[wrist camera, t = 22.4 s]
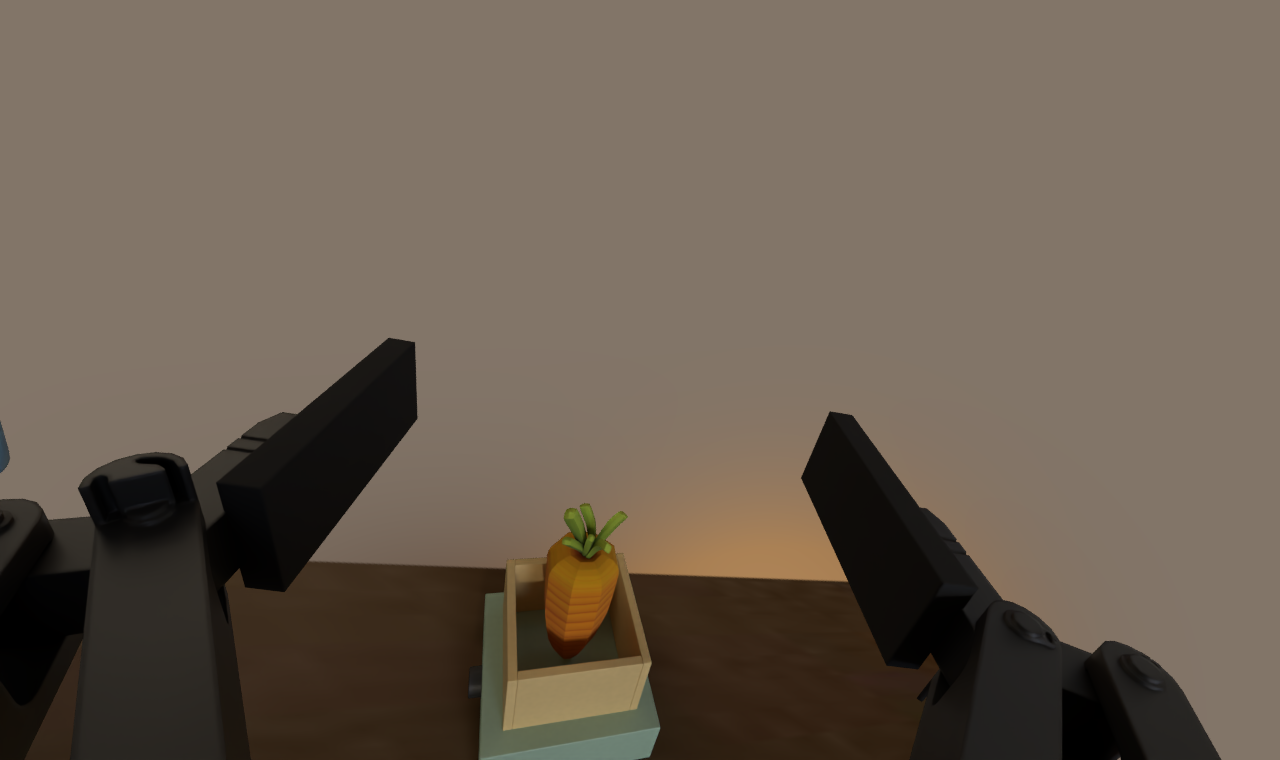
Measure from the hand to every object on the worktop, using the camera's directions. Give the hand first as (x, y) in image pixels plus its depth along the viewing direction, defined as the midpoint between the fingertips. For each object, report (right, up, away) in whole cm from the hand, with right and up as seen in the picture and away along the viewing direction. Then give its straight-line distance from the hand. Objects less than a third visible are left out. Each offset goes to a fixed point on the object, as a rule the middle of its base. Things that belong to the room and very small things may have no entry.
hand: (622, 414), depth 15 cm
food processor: (-6, -23, +23) cm, 33 cm away
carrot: (-5, -20, +21) cm, 30 cm away
